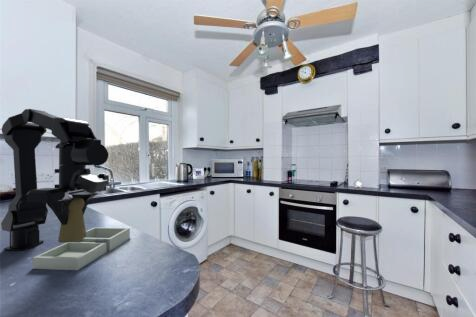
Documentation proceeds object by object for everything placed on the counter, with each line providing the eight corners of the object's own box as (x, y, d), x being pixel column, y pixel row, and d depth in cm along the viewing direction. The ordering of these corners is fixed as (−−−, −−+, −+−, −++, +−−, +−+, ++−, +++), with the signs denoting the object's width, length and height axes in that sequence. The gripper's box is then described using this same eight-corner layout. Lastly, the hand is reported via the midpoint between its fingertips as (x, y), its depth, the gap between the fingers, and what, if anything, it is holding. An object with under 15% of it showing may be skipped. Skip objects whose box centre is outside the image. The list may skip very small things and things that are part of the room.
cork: (70, 243, 52) (70, 201, 52) (52, 241, 53) (51, 200, 53) (91, 234, 58) (91, 196, 58) (74, 233, 59) (74, 195, 59)
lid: (32, 268, 51) (32, 257, 51) (68, 250, 61) (68, 241, 61) (77, 270, 50) (77, 258, 50) (106, 251, 60) (106, 242, 60)
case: (66, 250, 61) (66, 238, 61) (94, 237, 72) (94, 226, 72) (108, 251, 60) (108, 239, 60) (129, 237, 71) (129, 227, 71)
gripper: (70, 166, 46) (69, 235, 46) (122, 164, 65) (122, 213, 65) (24, 166, 47) (24, 233, 47) (89, 164, 65) (88, 212, 65)
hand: (72, 221), depth 56 cm, fingers closed on cork, 4 cm apart
